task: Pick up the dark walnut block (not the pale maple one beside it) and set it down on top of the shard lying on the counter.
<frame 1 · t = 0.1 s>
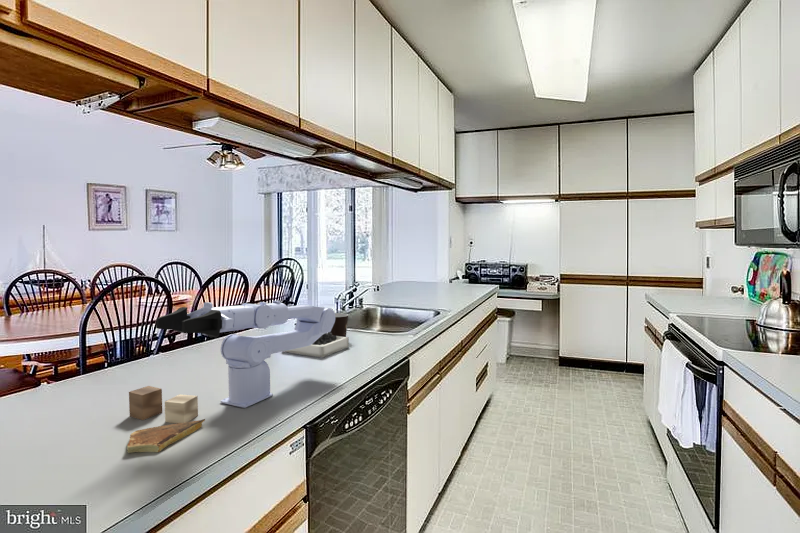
hand: (169, 324, 86), 22 cm above the counter, fingers open, 7 cm apart
fruit: (316, 347, 154), point 1 cm above the counter, touching fruit dish
walnut block: (146, 414, 96), on the counter
shard: (159, 440, 85), on the counter
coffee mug: (339, 340, 169), on the counter
maple block: (182, 419, 94), on the counter
fruit dish: (316, 349, 154), on the counter
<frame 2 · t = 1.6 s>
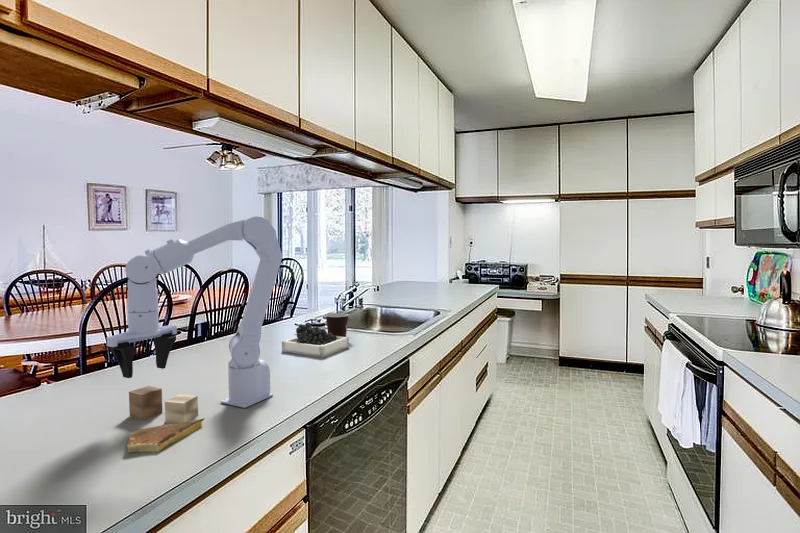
hand: (145, 372, 95), 9 cm above the counter, fingers open, 7 cm apart
nothing on the counter moved.
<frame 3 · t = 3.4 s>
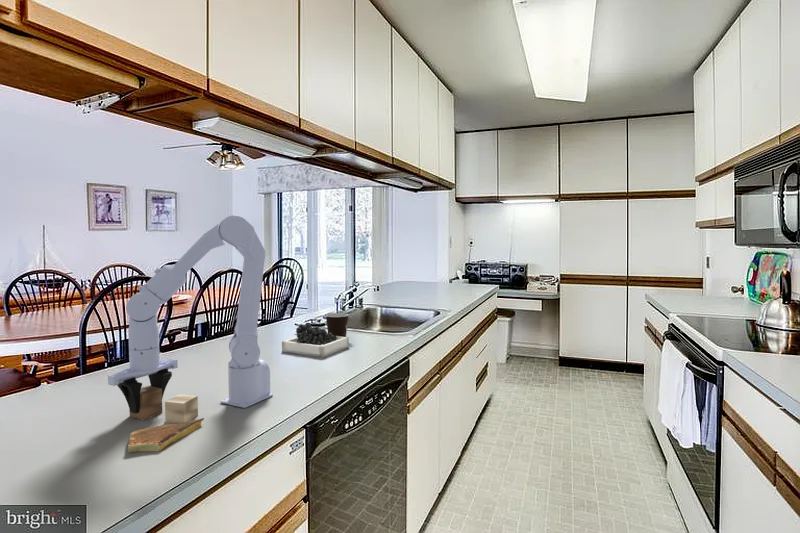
hand: (146, 408, 96), 1 cm above the counter, fingers closed on walnut block, 4 cm apart
walnut block: (146, 414, 96), on the counter, touching gripper
everything else where it was.
when the fingers open (5 cm above the counter, at t = 6.7 s): walnut block drops 1 cm, resting on shard.
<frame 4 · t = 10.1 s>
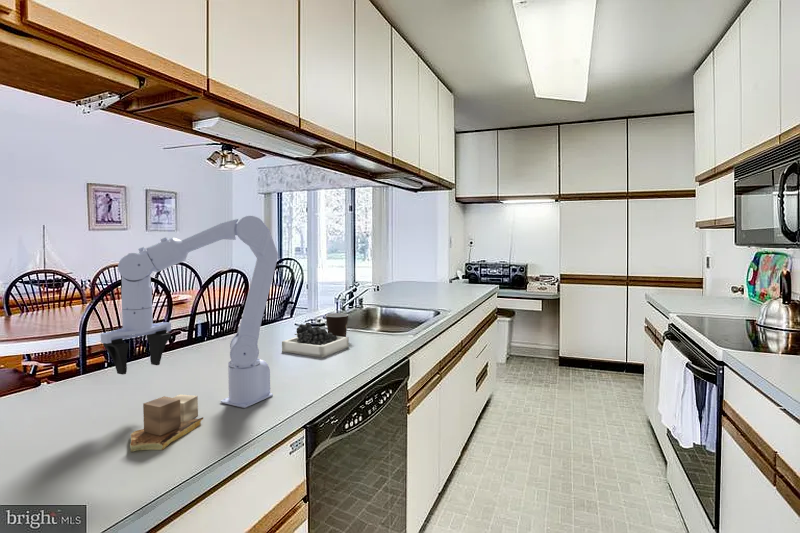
hand: (139, 369, 96), 10 cm above the counter, fingers open, 7 cm apart
walnut block: (162, 429, 85), point 2 cm above the counter, touching shard
shard: (159, 440, 86), on the counter, touching walnut block
everything else where it was.
at the end: walnut block inside the target area on the shard (1.0 cm from its centre), point 2.4 cm above the shard's base; walnut block tilted 1°; the gripper is holding nothing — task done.
